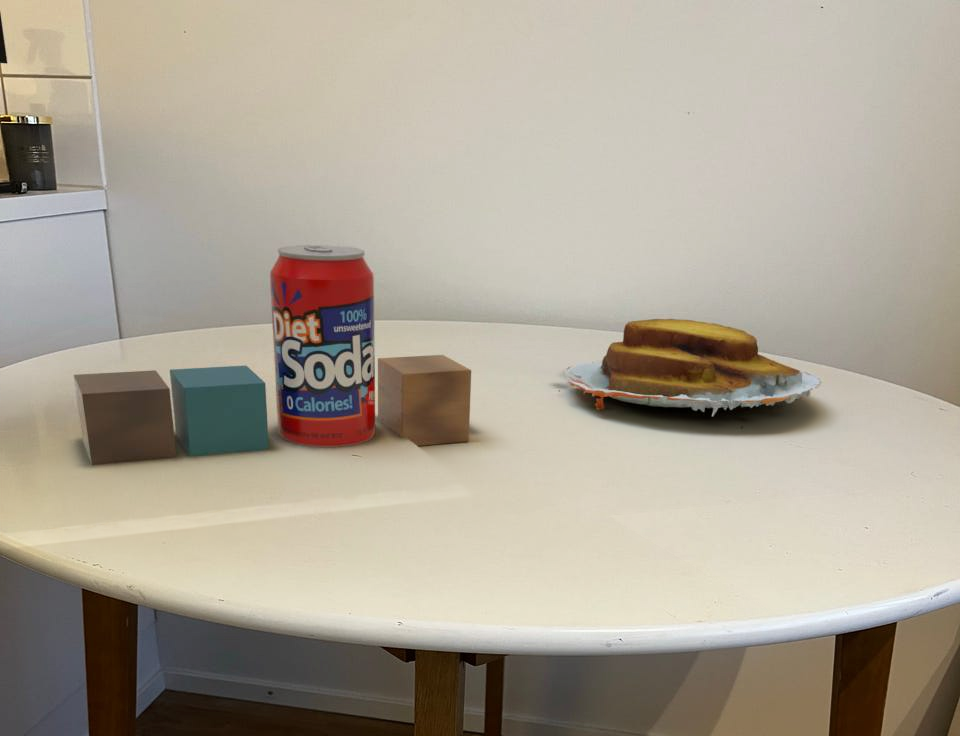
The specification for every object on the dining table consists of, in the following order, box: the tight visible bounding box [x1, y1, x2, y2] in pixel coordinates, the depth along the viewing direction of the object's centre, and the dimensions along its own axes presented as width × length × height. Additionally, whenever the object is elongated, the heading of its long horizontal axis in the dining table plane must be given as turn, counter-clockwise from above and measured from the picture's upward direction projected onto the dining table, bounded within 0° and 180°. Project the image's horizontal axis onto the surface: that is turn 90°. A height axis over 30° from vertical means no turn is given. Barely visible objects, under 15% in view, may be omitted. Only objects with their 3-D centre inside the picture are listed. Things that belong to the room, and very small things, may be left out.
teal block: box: [169, 364, 270, 457], centre depth 79 cm, size 6×6×6 cm
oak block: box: [377, 354, 472, 447], centre depth 85 cm, size 6×6×6 cm
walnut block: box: [73, 369, 177, 466], centre depth 76 cm, size 6×6×6 cm
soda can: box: [269, 244, 376, 448], centre depth 80 cm, size 8×8×15 cm
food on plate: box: [557, 318, 822, 429], centre depth 100 cm, size 25×25×7 cm
